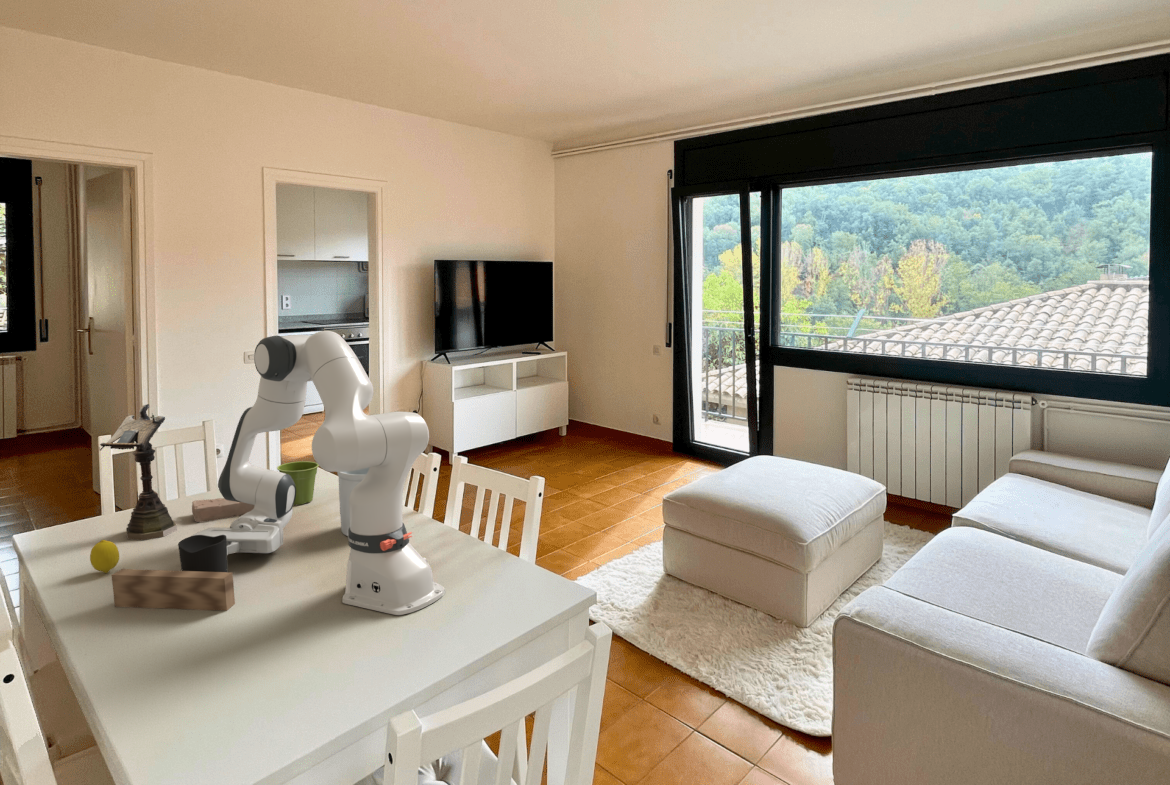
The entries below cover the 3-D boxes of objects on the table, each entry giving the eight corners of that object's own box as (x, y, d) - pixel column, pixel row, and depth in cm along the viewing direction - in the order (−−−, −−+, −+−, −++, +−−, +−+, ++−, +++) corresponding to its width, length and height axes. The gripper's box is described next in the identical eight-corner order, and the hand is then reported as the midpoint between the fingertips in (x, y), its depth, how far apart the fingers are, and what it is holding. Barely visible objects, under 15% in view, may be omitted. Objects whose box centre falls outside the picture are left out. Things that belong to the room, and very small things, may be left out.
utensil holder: (386, 516, 200) (384, 457, 197) (404, 532, 188) (402, 469, 185) (334, 526, 192) (330, 464, 189) (348, 543, 180) (345, 477, 177)
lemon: (95, 569, 162) (92, 537, 161) (123, 566, 164) (120, 534, 163) (88, 579, 157) (84, 545, 156) (117, 575, 159) (113, 542, 158)
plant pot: (324, 504, 211) (322, 468, 209) (281, 510, 205) (279, 473, 203) (317, 493, 221) (315, 459, 219) (277, 499, 215) (274, 463, 213)
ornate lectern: (147, 548, 175) (133, 412, 169) (100, 545, 177) (85, 410, 171) (192, 525, 191) (181, 400, 186) (149, 523, 193) (136, 399, 187)
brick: (254, 505, 209) (253, 491, 208) (259, 513, 202) (258, 498, 202) (192, 516, 200) (190, 500, 199) (195, 524, 193) (193, 508, 193)
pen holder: (218, 570, 163) (215, 529, 161) (237, 581, 157) (233, 539, 155) (175, 583, 156) (171, 541, 154) (192, 596, 150) (189, 552, 148)
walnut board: (235, 603, 146) (232, 572, 145) (227, 610, 143) (224, 578, 142) (124, 600, 147) (121, 568, 146) (114, 606, 144) (111, 574, 143)
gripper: (208, 518, 174) (172, 539, 160) (287, 520, 173) (259, 541, 159) (210, 542, 175) (175, 564, 161) (289, 544, 174) (260, 567, 160)
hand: (217, 553), depth 160 cm, fingers closed
